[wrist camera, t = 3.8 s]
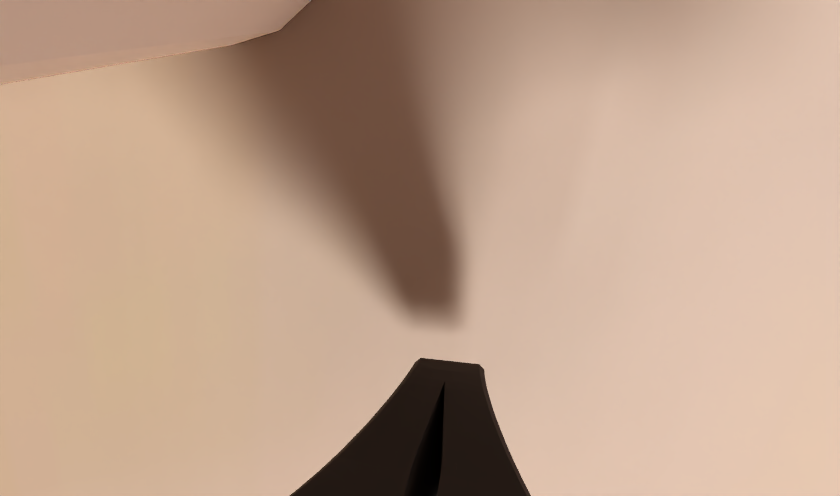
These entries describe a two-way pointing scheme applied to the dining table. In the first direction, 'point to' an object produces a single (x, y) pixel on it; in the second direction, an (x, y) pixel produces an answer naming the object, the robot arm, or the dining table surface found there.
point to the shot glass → (125, 31)
